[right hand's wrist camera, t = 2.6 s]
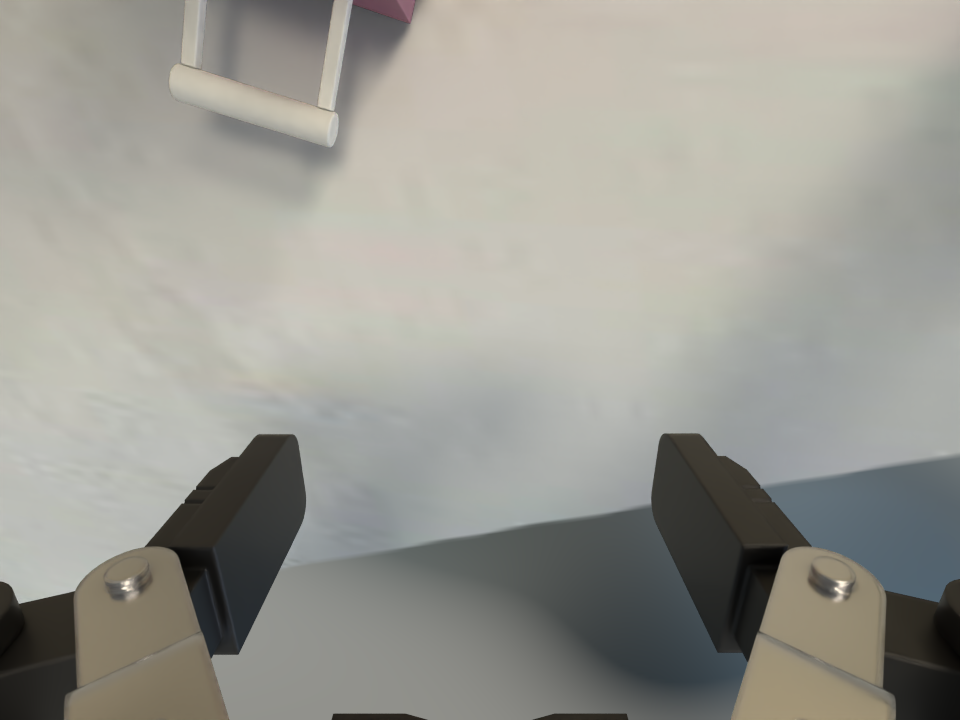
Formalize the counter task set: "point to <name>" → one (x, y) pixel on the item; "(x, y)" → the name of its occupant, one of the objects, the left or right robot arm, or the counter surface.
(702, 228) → the counter surface
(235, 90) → the drawer
